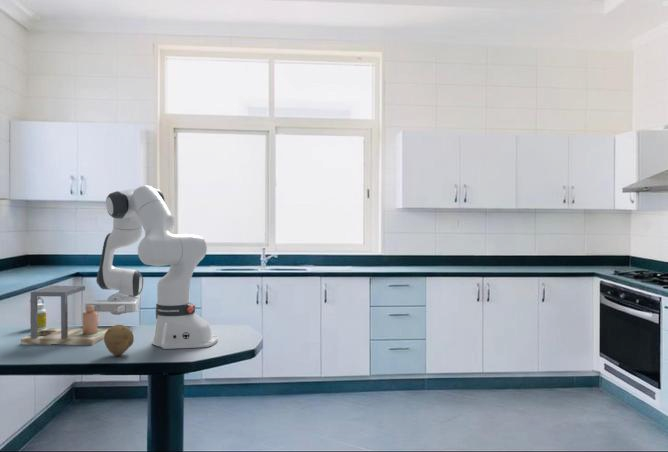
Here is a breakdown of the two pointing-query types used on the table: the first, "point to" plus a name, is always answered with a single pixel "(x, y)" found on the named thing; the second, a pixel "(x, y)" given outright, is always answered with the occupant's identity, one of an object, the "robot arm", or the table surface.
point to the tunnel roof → (63, 293)
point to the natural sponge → (118, 339)
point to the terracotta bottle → (90, 321)
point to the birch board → (74, 338)
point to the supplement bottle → (41, 316)
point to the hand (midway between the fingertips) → (104, 310)
